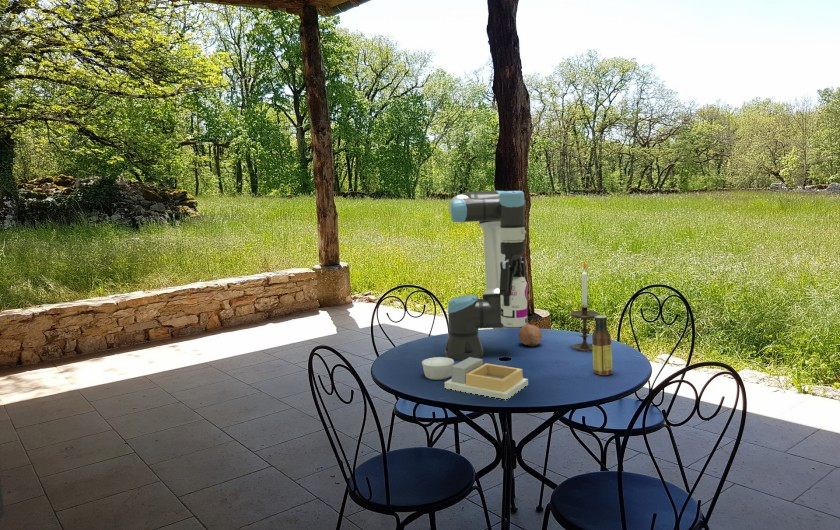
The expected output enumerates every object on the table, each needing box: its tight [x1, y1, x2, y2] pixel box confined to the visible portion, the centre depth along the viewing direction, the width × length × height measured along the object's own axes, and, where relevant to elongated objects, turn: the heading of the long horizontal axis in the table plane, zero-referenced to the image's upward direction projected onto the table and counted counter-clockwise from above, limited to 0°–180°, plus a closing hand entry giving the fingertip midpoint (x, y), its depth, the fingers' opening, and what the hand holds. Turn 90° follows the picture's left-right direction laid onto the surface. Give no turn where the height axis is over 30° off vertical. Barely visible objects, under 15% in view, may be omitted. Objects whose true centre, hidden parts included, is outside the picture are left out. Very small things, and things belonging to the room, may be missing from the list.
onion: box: [518, 322, 543, 347], centre depth 222 cm, size 10×9×10 cm
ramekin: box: [421, 356, 455, 381], centre depth 188 cm, size 11×11×5 cm
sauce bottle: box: [591, 314, 613, 376], centre depth 183 cm, size 6×6×20 cm
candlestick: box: [569, 261, 600, 353], centre depth 213 cm, size 11×11×35 cm
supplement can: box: [500, 277, 528, 328], centre depth 169 cm, size 8×8×15 cm
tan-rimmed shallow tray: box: [444, 357, 529, 401], centre depth 175 cm, size 22×16×7 cm
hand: (513, 312), depth 169 cm, fingers closed on supplement can, 8 cm apart
